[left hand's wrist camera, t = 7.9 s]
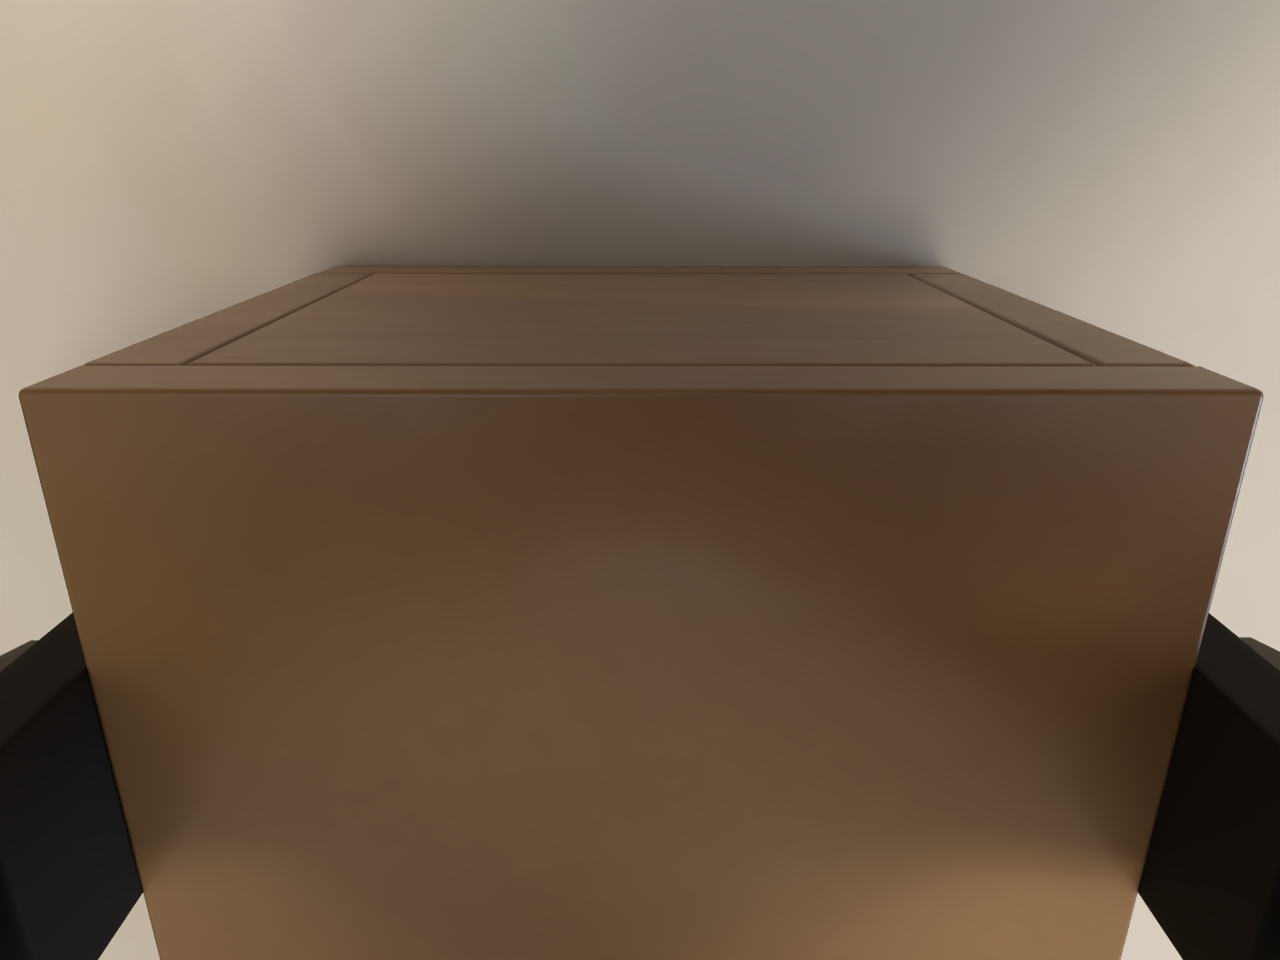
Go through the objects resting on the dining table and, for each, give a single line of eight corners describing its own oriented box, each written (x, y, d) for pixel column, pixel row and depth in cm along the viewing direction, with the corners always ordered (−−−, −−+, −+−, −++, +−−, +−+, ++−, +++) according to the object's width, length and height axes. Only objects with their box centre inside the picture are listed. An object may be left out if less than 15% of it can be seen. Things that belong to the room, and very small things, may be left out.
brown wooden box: (853, 1054, 22) (971, 1553, 14) (425, 1054, 22) (307, 1553, 14) (948, 266, 15) (1268, 391, 7) (332, 266, 15) (13, 390, 7)
